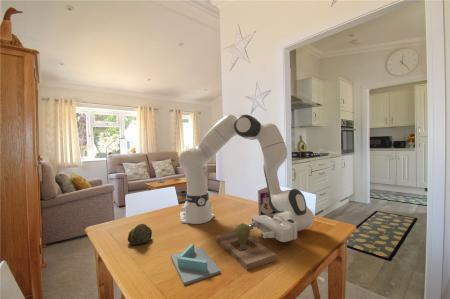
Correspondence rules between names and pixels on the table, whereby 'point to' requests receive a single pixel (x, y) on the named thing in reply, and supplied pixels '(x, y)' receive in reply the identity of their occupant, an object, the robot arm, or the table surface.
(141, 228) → the seashell
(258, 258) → the wooden board with hole
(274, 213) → the greeting card
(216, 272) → the V-block
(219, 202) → the table surface
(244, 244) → the light bulb
